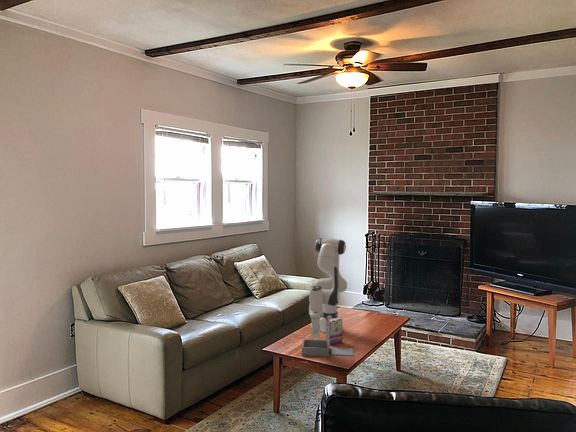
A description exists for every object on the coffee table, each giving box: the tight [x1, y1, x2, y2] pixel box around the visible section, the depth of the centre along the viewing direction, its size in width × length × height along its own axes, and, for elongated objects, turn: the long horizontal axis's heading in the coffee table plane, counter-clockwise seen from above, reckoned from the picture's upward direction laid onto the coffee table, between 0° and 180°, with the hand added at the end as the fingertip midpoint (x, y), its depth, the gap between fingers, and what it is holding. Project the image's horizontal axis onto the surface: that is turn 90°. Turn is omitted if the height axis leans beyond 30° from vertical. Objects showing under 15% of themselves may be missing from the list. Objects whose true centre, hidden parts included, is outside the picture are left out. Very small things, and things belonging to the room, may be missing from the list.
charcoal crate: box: [301, 338, 330, 357], centre depth 292 cm, size 16×17×5 cm
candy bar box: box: [325, 316, 343, 346], centre depth 308 cm, size 11×5×16 cm, turn 126°
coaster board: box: [330, 347, 354, 357], centre depth 291 cm, size 12×14×1 cm
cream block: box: [310, 323, 321, 340], centre depth 291 cm, size 4×6×8 cm
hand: (315, 332), depth 291 cm, fingers closed on cream block, 4 cm apart
